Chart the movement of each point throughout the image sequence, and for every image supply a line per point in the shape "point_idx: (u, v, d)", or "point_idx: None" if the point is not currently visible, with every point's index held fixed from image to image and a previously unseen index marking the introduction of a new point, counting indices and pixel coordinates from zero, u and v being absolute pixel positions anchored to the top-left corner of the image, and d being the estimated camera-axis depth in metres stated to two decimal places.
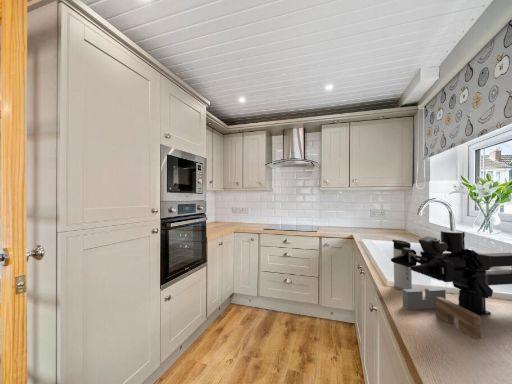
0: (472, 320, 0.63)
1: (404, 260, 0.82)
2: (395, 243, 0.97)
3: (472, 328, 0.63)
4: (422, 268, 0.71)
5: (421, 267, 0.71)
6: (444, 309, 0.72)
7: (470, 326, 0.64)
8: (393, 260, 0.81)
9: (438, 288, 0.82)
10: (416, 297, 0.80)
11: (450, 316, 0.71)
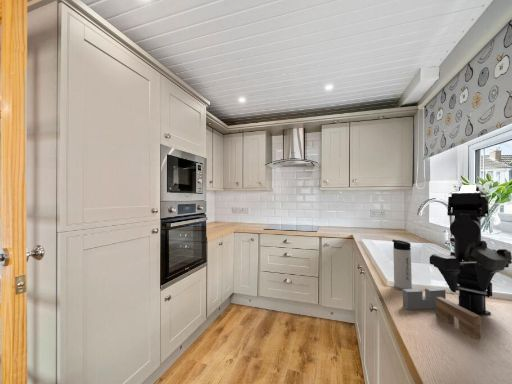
0: (472, 320, 0.63)
1: None
2: (395, 243, 0.97)
3: (472, 328, 0.63)
4: None
5: None
6: (444, 309, 0.72)
7: (470, 326, 0.64)
8: None
9: (438, 288, 0.82)
10: (416, 297, 0.80)
11: (450, 316, 0.71)
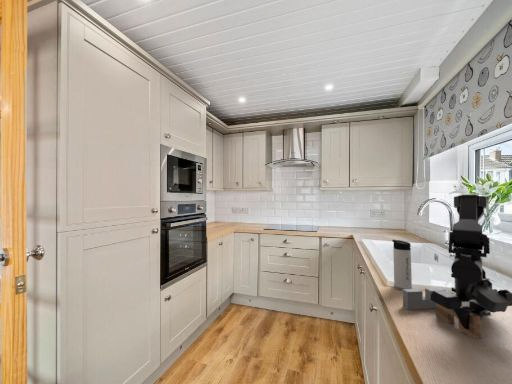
0: (472, 320, 0.63)
1: None
2: (395, 243, 0.97)
3: (472, 328, 0.63)
4: None
5: None
6: (444, 309, 0.72)
7: (470, 326, 0.64)
8: None
9: (438, 288, 0.82)
10: (416, 297, 0.80)
11: (450, 316, 0.71)
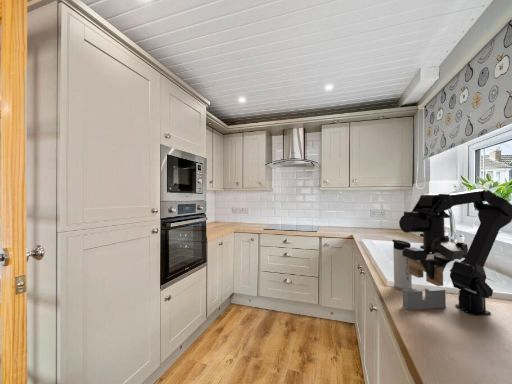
0: (436, 270, 0.75)
1: None
2: (395, 243, 0.97)
3: (436, 277, 0.75)
4: None
5: None
6: (415, 266, 0.83)
7: (435, 275, 0.75)
8: None
9: (438, 288, 0.82)
10: (416, 297, 0.80)
11: (420, 271, 0.82)
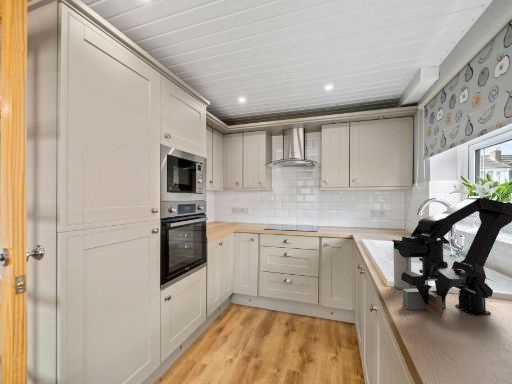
0: (435, 300, 0.75)
1: None
2: (395, 243, 0.97)
3: (435, 307, 0.75)
4: None
5: None
6: None
7: (434, 305, 0.76)
8: None
9: None
10: (416, 297, 0.80)
11: None
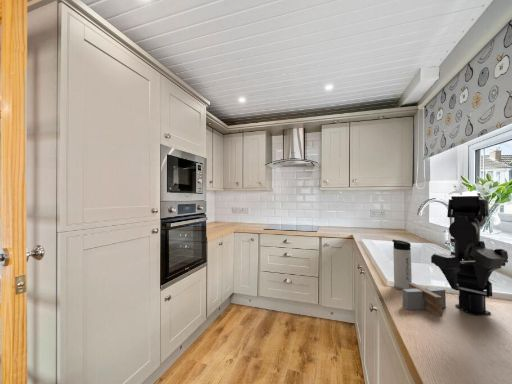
0: (435, 300, 0.75)
1: None
2: (395, 243, 0.97)
3: (435, 307, 0.75)
4: None
5: None
6: None
7: (434, 305, 0.76)
8: None
9: (438, 288, 0.82)
10: (416, 297, 0.80)
11: None
